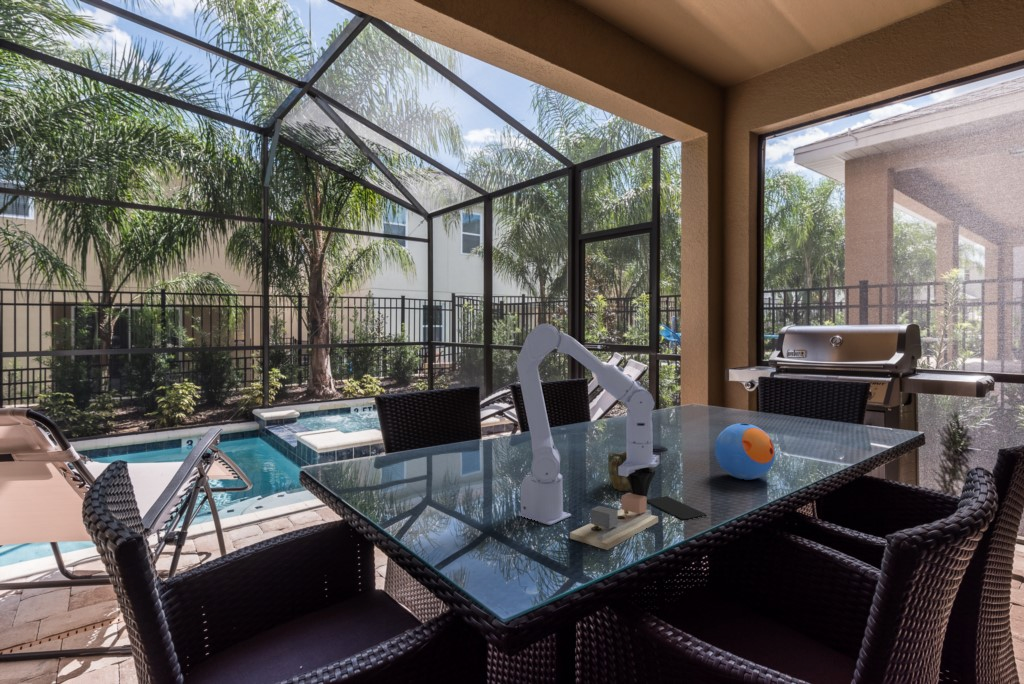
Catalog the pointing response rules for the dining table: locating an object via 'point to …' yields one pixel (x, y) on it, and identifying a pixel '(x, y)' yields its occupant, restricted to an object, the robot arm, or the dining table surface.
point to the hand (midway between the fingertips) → (640, 501)
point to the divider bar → (623, 525)
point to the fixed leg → (604, 517)
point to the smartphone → (675, 508)
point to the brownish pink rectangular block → (633, 503)
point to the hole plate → (590, 535)
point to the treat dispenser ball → (744, 451)
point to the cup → (613, 463)
